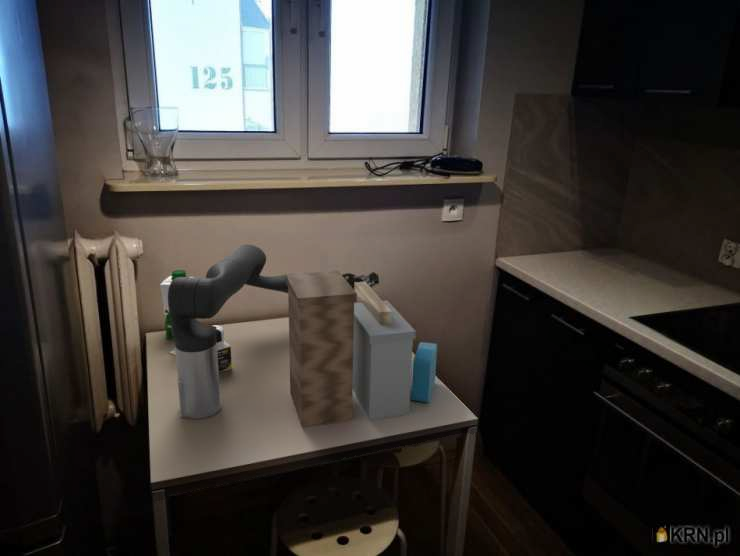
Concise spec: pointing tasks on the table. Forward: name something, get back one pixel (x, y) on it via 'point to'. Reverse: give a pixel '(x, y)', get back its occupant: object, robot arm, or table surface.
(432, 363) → the data package
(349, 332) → the wooden column with lip
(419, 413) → the table surface
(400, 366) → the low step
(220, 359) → the medicine bottle
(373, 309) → the birch rod
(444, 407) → the table surface
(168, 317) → the milk carton
